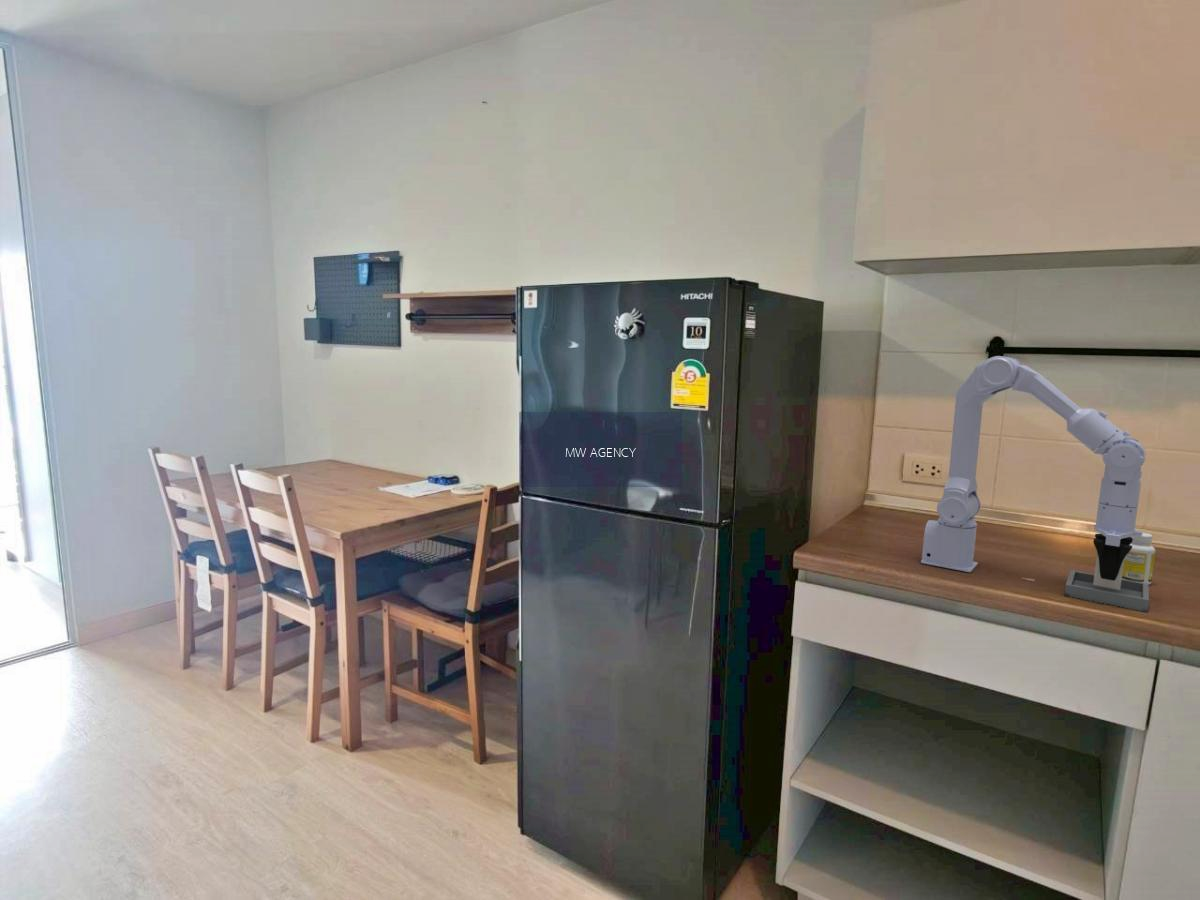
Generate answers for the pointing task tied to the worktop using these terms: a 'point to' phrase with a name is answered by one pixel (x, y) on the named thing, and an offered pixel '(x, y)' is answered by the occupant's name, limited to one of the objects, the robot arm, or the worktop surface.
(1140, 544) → the supplement bottle
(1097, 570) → the light grey tall block
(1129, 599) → the tray
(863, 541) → the worktop surface
